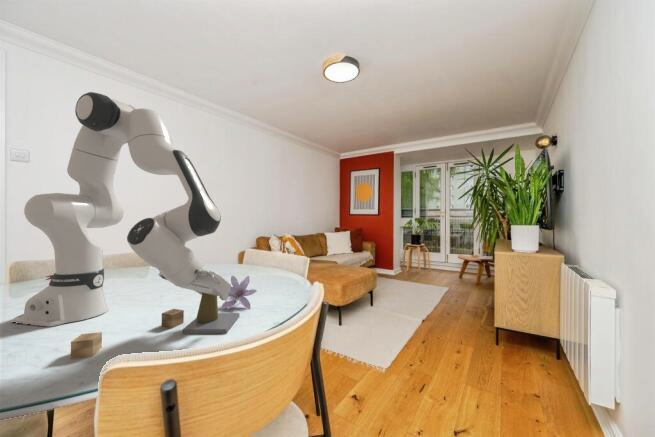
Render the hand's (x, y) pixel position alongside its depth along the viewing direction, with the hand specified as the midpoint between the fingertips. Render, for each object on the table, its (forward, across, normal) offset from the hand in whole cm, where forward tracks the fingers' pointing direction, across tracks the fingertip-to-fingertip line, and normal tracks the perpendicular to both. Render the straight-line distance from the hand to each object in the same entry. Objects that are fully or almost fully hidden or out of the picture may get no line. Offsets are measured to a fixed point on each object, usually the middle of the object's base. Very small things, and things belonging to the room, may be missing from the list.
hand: (215, 295), depth 78 cm
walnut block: (+2, +10, +11) cm, 15 cm away
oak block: (-12, +12, +24) cm, 30 cm away
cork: (+4, +2, +6) cm, 8 cm away
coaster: (+6, 0, +6) cm, 9 cm away
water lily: (+16, +6, -4) cm, 18 cm away
